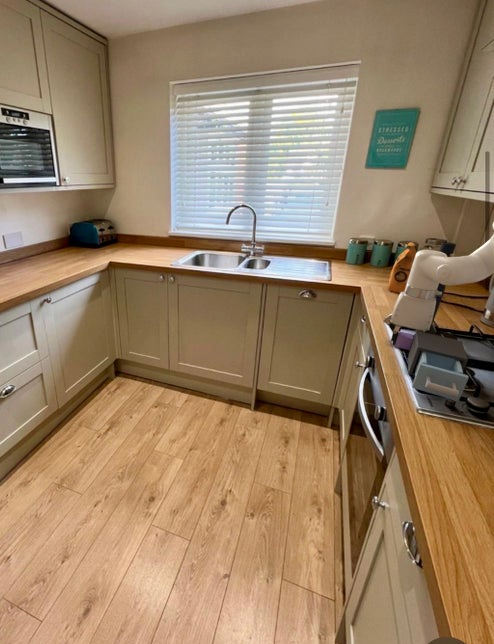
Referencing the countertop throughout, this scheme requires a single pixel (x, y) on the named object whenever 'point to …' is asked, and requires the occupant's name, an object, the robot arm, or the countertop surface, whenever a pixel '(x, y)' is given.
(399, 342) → the lavender cube
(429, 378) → the drawer
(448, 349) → the compartment
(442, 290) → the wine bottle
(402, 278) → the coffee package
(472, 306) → the countertop surface
